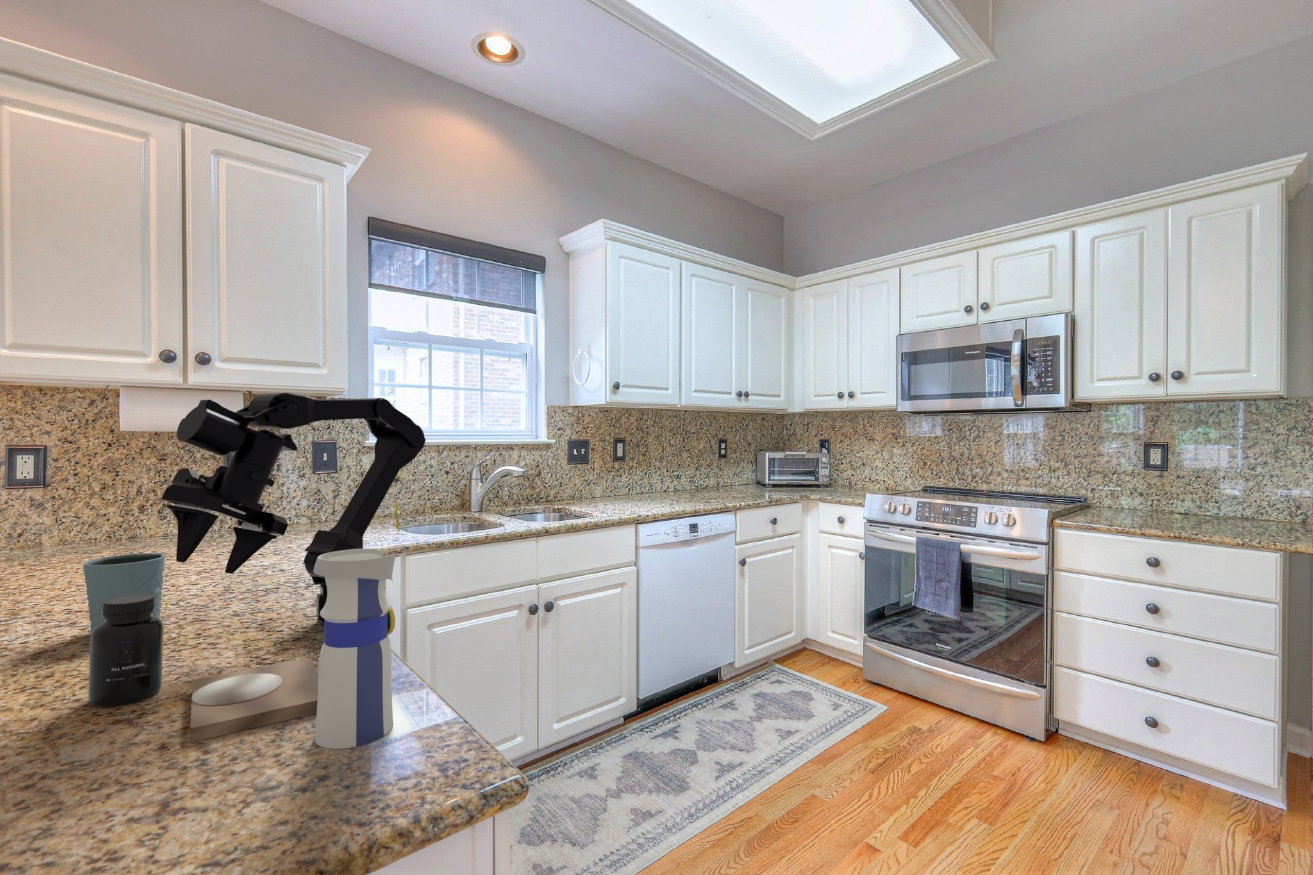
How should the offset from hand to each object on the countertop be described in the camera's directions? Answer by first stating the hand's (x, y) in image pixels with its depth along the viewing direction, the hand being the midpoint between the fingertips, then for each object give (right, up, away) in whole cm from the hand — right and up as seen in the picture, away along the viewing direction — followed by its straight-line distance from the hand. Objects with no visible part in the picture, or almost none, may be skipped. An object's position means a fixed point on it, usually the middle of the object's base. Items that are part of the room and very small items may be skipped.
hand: (205, 567), depth 87 cm
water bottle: (+32, -13, -21) cm, 41 cm away
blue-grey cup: (-23, -13, +13) cm, 30 cm away
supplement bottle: (0, -13, -13) cm, 18 cm away
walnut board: (+17, -13, -14) cm, 25 cm away
